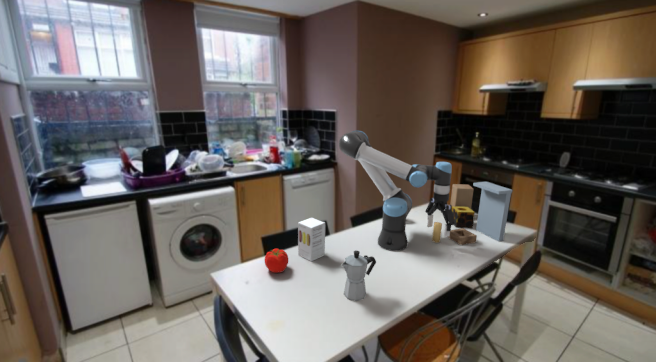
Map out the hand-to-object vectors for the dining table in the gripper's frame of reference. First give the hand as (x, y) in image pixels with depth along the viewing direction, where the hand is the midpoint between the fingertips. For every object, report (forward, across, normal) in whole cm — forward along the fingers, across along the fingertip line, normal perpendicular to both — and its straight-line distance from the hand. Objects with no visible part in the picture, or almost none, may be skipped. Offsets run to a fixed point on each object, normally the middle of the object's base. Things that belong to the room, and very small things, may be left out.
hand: (438, 231), depth 166 cm
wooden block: (+6, +26, -38) cm, 46 cm away
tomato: (+5, -2, +85) cm, 86 cm away
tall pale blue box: (+6, -3, -30) cm, 30 cm away
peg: (+6, 0, 0) cm, 6 cm away
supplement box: (+5, +6, +67) cm, 68 cm away
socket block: (+6, -3, -14) cm, 15 cm away
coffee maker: (+6, -29, +59) cm, 66 cm away
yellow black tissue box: (+6, +14, -29) cm, 33 cm away
